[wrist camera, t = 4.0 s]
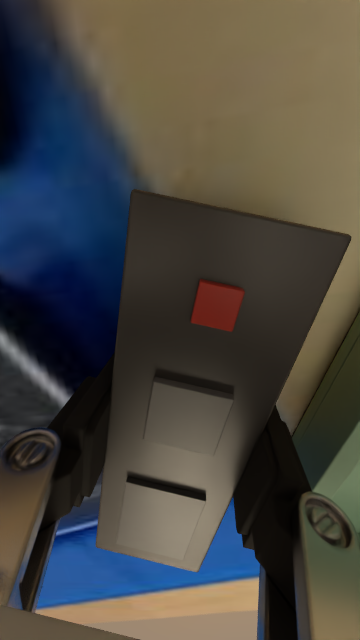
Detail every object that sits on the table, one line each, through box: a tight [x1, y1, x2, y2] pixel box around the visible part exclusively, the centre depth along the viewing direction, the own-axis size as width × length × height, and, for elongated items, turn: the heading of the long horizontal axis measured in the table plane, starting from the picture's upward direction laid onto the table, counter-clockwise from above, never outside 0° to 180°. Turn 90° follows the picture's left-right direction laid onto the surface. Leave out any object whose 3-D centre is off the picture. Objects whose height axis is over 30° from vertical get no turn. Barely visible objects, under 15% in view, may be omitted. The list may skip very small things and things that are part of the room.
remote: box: [96, 189, 351, 572], centre depth 9 cm, size 14×5×4 cm, turn 169°
